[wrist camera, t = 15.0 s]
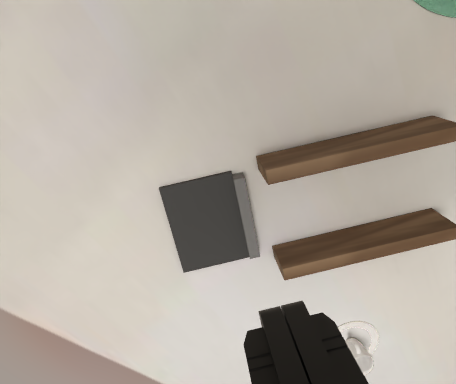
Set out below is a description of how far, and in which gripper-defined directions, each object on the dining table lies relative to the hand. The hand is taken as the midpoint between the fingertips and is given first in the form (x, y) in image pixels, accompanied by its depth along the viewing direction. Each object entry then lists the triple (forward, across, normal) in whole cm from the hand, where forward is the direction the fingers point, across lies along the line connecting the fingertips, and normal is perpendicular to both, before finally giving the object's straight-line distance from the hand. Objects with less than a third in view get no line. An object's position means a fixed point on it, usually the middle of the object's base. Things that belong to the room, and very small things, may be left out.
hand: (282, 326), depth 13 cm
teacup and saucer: (+30, -10, +36) cm, 47 cm away
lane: (+29, -14, +10) cm, 34 cm away
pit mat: (+29, +3, +10) cm, 31 cm away
